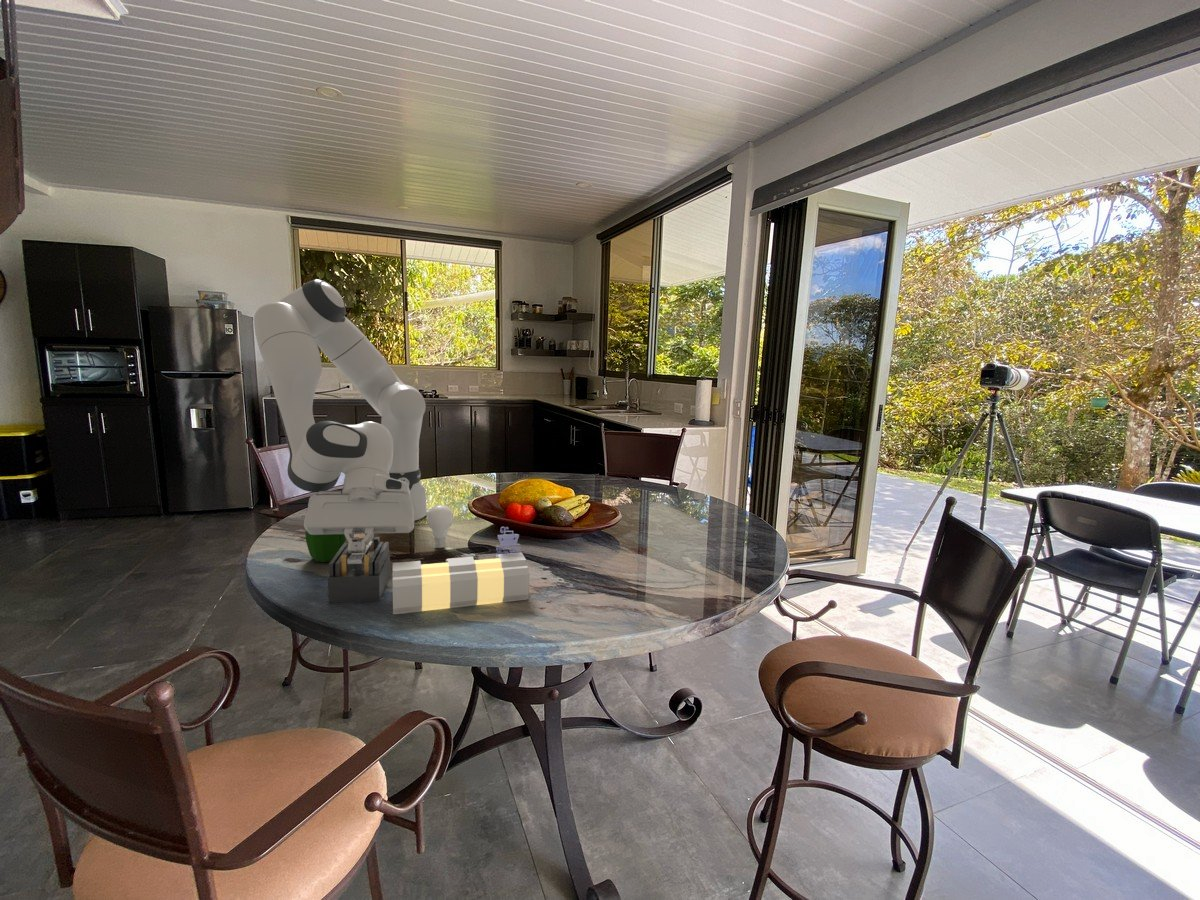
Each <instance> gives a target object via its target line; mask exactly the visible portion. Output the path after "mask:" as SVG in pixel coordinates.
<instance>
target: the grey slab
mask: <svg viewBox="0 0 1200 900" xmlns="http://www.w3.org/2000/svg"><path fill="white" fill-rule="evenodd" d="M359 542H362V540H359ZM373 546H374V539H372V540H371V541H370V543H369V544H368V545H366V552H365V553H352V554H351V555H350V557H349V558H348V560H347V564H359V563H362V562H363V560H364V556H365V554H368V553H370V550H371V548H372V547H373Z"/></svg>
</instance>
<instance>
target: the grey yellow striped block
mask: <svg viewBox="0 0 1200 900" xmlns="http://www.w3.org/2000/svg"><path fill="white" fill-rule="evenodd" d="M499 532H500V533H501V534H497V540H498V541H499V545H496V546H495V547H496V550H495V551H497V552H498V553H495V557H494V558H485V559H474V557H473V556H465V557H464V556H463V557H452V558H446V559H445V562H436V563H423V564H422V562H421V560H414V561H412V560H411V561H404V562H403V561H401V562H392V615H399V614H409V613H417V612H418V613H419V612H424V611H425V612H427V611H437V610H445V609H452V608H453V609H454V608H463V607H471V606H480V605H488V604H489V605H490V604H498V603H499V604H501V603H507V602H515V601H516V602H517V601H518V602H519V601H526V600H528V598H529V596H530V570H529V566H528V564H527V558H526V557H525V556H524V554H523V552H521V547H519V546H521V544H520V543H518V539H519V538H520V534H518V533H514V530H509V527H508V526H506V527H505V526H501V527H500V531H499ZM507 533H509V534H507ZM511 546H512V547H511ZM515 546H516V552H515ZM501 547H502V548H501ZM502 550H503V552H502ZM507 550H509V552H510V553H509V552H508V551H507Z"/></svg>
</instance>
